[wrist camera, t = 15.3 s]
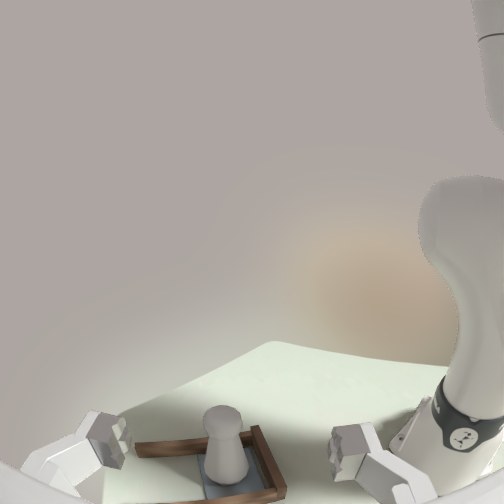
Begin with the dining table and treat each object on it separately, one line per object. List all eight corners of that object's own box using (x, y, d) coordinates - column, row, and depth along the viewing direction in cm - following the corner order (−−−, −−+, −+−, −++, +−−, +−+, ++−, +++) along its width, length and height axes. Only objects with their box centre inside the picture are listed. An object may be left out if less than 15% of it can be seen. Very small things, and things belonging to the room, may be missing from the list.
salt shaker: (198, 470, 33) (185, 408, 30) (232, 454, 36) (228, 390, 33) (222, 498, 28) (214, 440, 25) (257, 478, 32) (259, 417, 29)
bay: (258, 439, 40) (258, 424, 39) (284, 498, 28) (287, 487, 28) (138, 452, 35) (133, 438, 34) (142, 517, 24) (134, 506, 23)
